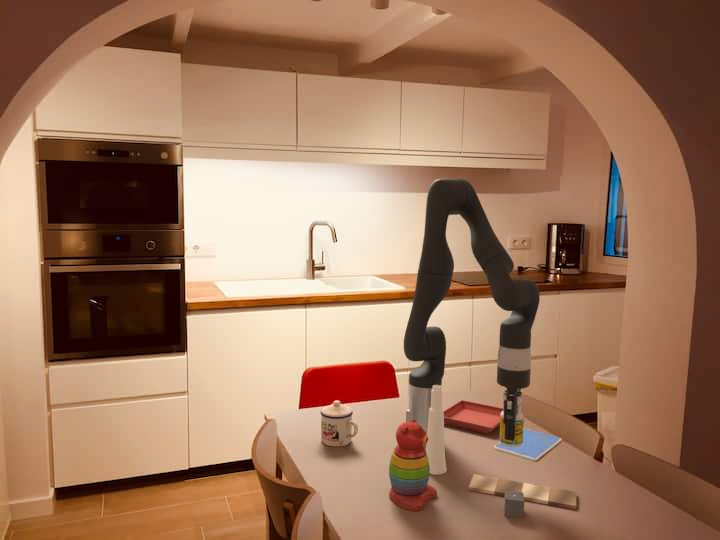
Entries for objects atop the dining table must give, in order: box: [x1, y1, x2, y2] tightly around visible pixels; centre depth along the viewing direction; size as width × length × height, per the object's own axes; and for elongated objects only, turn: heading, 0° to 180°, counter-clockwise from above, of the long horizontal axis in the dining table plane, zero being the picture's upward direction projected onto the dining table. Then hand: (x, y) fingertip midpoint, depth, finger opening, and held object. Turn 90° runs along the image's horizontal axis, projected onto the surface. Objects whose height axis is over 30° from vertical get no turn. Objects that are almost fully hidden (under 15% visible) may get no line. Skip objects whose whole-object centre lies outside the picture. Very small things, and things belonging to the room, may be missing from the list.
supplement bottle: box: [499, 403, 525, 447], centre depth 137 cm, size 5×5×10 cm
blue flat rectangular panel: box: [493, 427, 562, 462], centre depth 167 cm, size 19×13×1 cm, turn 141°
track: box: [468, 473, 577, 510], centre depth 138 cm, size 24×7×1 cm, turn 69°
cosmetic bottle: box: [425, 385, 448, 476], centre depth 148 cm, size 6×6×22 cm
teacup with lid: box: [320, 400, 359, 447], centre depth 166 cm, size 12×9×12 cm
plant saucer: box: [444, 399, 503, 435], centre depth 183 cm, size 18×18×3 cm
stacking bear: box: [388, 419, 438, 512], centre depth 134 cm, size 11×10×18 cm
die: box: [503, 491, 525, 519], centre depth 129 cm, size 4×4×4 cm
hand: (511, 434), depth 138 cm, fingers closed on supplement bottle, 5 cm apart
